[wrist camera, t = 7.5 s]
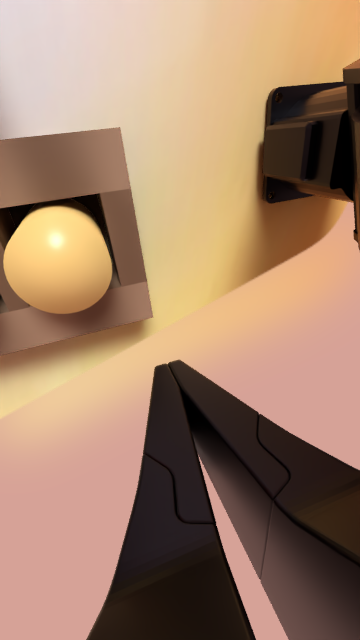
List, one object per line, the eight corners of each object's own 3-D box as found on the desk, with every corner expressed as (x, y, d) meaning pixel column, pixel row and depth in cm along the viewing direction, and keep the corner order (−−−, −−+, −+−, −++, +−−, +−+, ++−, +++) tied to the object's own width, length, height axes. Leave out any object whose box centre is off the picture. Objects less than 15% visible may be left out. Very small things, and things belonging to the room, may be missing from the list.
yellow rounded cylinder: (91, 191, 17) (98, 209, 12) (108, 262, 19) (120, 301, 14) (10, 203, 16) (-17, 228, 11) (39, 276, 18) (27, 323, 13)
